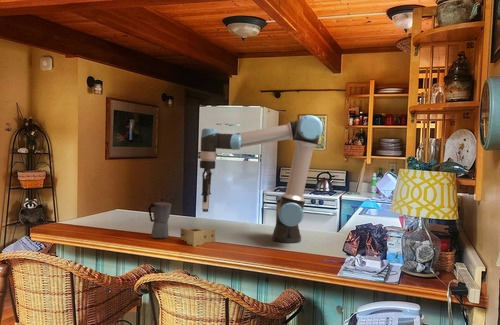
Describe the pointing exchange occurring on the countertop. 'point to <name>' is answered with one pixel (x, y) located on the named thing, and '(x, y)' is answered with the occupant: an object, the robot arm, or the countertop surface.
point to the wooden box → (197, 236)
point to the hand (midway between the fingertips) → (205, 208)
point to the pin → (208, 201)
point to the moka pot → (160, 218)
